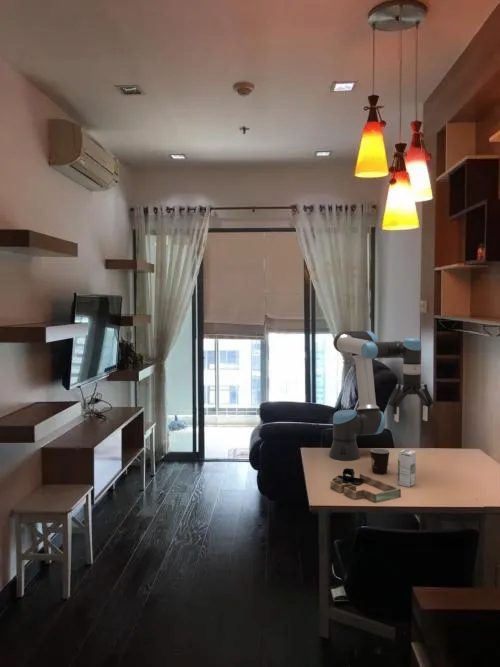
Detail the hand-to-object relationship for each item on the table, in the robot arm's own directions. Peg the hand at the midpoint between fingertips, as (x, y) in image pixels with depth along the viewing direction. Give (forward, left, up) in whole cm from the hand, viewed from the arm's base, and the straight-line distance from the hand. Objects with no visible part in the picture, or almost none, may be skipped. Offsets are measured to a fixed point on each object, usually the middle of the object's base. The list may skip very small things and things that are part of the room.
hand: (410, 421), depth 239 cm
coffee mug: (-14, -6, -26) cm, 30 cm away
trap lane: (+4, -29, -26) cm, 38 cm away
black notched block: (-8, -27, -27) cm, 39 cm away
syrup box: (+6, -9, -26) cm, 28 cm away
